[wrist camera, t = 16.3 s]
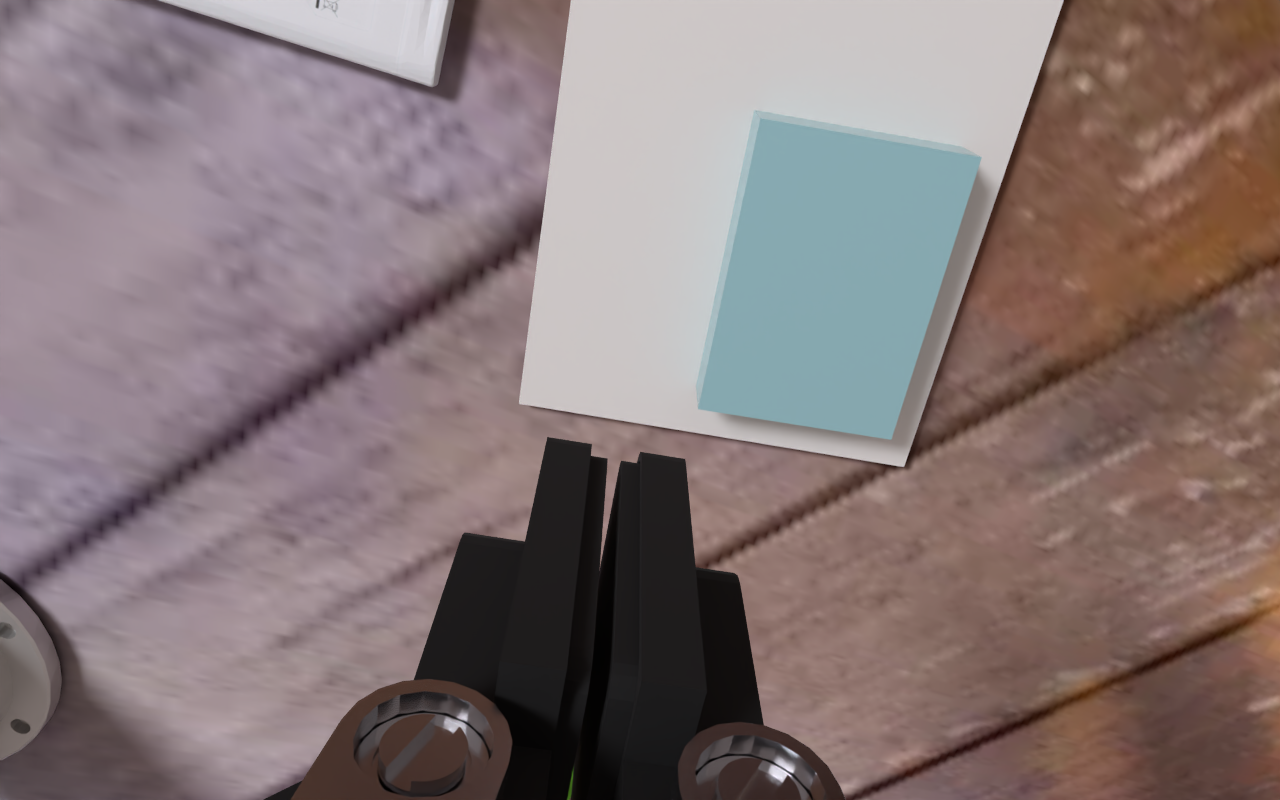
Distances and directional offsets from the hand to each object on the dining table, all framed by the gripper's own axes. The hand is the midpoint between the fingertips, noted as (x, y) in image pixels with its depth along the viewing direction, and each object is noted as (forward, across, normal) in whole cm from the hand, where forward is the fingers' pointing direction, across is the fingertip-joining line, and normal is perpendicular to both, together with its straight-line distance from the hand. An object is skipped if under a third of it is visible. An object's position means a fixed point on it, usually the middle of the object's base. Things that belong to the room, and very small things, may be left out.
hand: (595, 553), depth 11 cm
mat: (+22, -5, -1) cm, 23 cm away
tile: (+20, -4, +2) cm, 21 cm away
